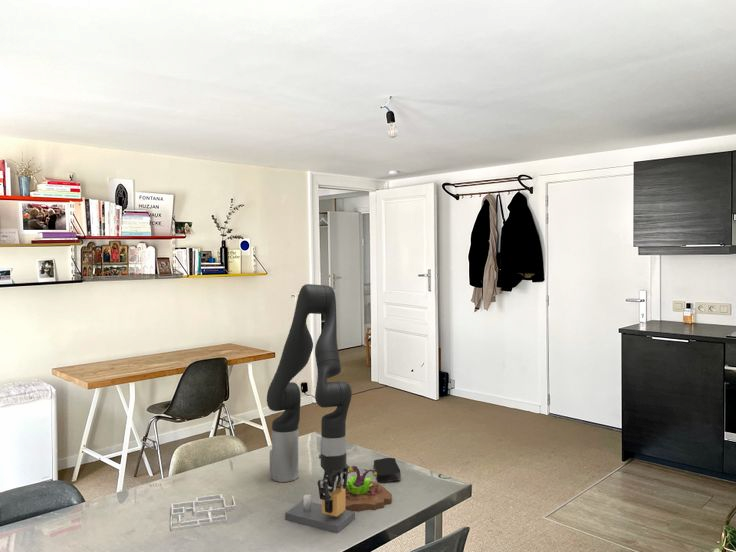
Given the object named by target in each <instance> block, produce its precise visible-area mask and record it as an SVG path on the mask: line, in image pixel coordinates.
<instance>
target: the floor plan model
mask: <svg viewBox="0 0 736 552" xmlns="http://www.w3.org/2000/svg"><path fill="white" fill-rule="evenodd" d="M231 498H232V499H231V500H232V501H231V502H232V505H226V501H225V497H223V494H222V493H221V494H220V493H219V494H212V495H205V496H204V495H203V496H196V497H195V500H192V501H190V500H189V501H182V502H176V503H175V502H174V503H171V515H170V527H171V532H172V531H180V530H186V529H194V528H200V527H203V526H211V525H217V524H224V523H227V522H228V518H227V512H235V511H236V507H237V506H236V502H235V497H234V496H233V495H232V496H231ZM218 503H223V504H222V505H223V507H221V508H219V507H218V508H214V509H213V506H209V509H204V506H203V505H211V504H218ZM197 506H201V507H200V508H201V510H198V511H196V508H195V507H197ZM188 507H189V508H188ZM185 508H186V512H188V513H189V512H193V514H192V515H193V516H194V517H195V516H196V517H203V516H207V518H199V519H193V520H191V519H190V518H188V519H186V520H185V521H182V519H181V518H185ZM217 514H222V515H217ZM212 515H216V516H213V517H212ZM172 519H178V521H174V522H172V521H173V520H172ZM179 525H181V526H179Z"/></svg>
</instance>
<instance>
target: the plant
mask: <svg viewBox="0 0 736 552" xmlns="http://www.w3.org/2000/svg"><path fill="white" fill-rule="evenodd" d="M353 469H354V472H352V471H353ZM359 470H360V469H359V468H358V466H357V465H352V466H350V468H348V472H350V473H356V476H355V475H351V477H350V478H347V486H346V488H344V489H345V507H346V510H349V511H353V512H365V511H376V510H378V509H384V507H385V506H386V505H391V504H392V503H393V494H392V493H391V492H390V491H389V490H388V489H386V487H385V486H383V485H382V484H381V483H380V482H375V481H373V480H372V477H371V476H369V477H366V476H367V475H368V473H369V472H372V475H373V476H374V477H377V476H376V475H377V473H376V471H375V469H366V470H367V471H364V472H363V473H362V475H361V474H360V473H361V472H360V471H359Z"/></svg>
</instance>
